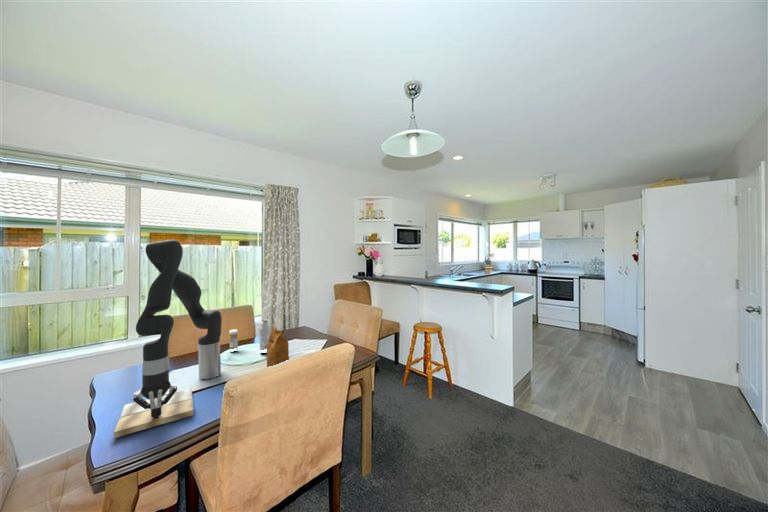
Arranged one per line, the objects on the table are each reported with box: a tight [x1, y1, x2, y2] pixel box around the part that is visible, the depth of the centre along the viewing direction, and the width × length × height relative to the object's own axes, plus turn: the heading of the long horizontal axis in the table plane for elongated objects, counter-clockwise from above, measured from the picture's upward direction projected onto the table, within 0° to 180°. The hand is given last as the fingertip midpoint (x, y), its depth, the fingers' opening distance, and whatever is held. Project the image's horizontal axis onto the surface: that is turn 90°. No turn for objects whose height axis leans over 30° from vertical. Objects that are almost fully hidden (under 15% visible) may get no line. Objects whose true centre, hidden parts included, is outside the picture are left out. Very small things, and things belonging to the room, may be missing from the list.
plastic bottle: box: [258, 320, 271, 350], centre depth 170 cm, size 6×7×20 cm
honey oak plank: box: [113, 398, 194, 439], centre depth 104 cm, size 22×12×2 cm, turn 126°
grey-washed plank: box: [119, 388, 193, 419], centre depth 113 cm, size 22×10×2 cm, turn 126°
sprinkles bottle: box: [228, 329, 239, 350], centre depth 174 cm, size 5×5×14 cm
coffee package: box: [265, 326, 290, 368], centre depth 149 cm, size 10×12×22 cm
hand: (156, 417), depth 101 cm, fingers closed
